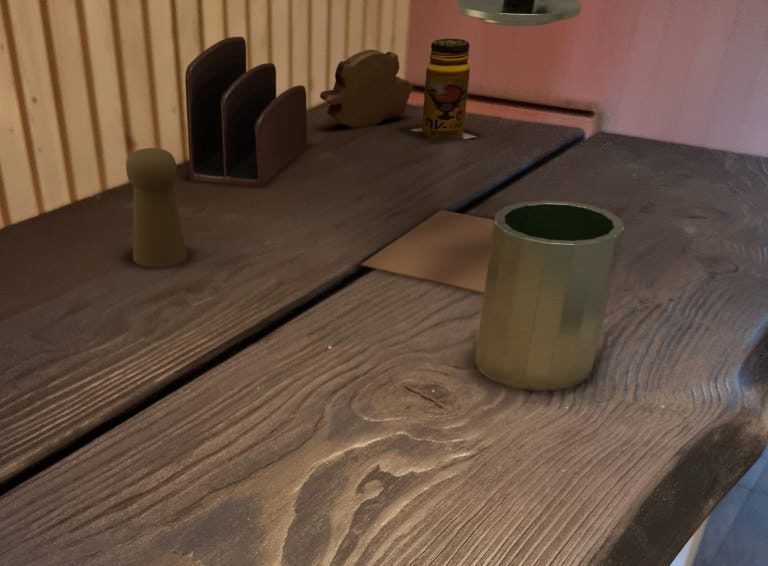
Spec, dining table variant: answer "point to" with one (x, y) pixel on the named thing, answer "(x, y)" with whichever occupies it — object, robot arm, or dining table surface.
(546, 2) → the lid
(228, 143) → the letter holder
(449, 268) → the cork mat
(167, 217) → the pepper shaker
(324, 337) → the dining table surface
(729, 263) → the dining table surface
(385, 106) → the wooden carving
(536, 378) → the green cylindrical container
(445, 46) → the condiment
